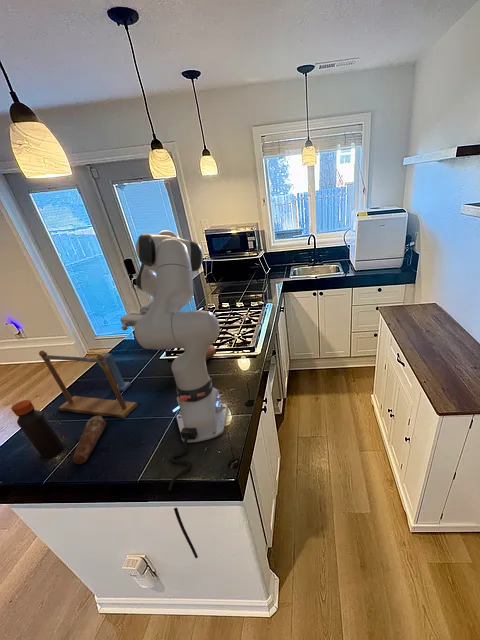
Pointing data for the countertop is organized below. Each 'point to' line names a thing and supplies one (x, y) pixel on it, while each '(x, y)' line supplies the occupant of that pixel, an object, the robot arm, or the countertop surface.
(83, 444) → the bread
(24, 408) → the bottle
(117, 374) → the hanger
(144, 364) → the countertop surface
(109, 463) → the countertop surface
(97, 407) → the rail stand
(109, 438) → the countertop surface
